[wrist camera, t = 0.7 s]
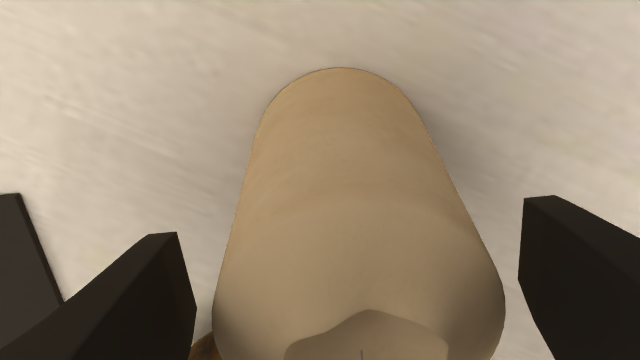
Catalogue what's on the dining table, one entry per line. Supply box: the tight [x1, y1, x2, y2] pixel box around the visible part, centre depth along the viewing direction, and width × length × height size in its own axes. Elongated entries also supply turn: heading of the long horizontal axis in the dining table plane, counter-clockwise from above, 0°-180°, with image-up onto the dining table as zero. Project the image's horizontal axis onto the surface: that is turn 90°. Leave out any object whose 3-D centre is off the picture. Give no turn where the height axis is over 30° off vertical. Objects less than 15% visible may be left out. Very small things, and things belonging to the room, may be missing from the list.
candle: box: [212, 68, 506, 360], centre depth 13 cm, size 6×6×10 cm
